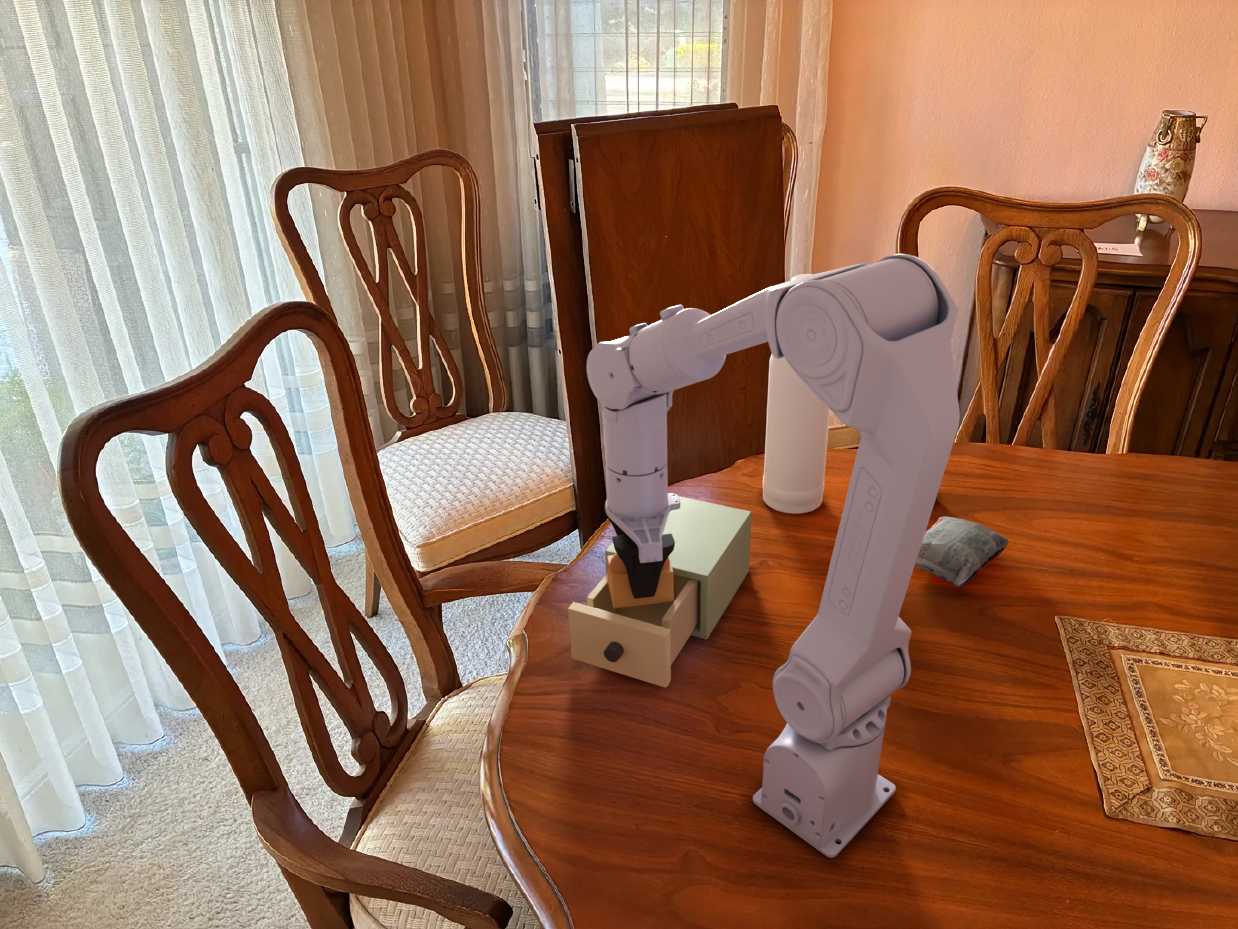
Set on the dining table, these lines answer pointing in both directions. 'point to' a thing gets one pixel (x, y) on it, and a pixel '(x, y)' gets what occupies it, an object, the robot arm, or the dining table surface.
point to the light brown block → (622, 589)
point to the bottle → (794, 441)
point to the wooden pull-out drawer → (634, 631)
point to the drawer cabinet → (708, 554)
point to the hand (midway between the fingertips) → (640, 582)
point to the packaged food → (958, 549)
